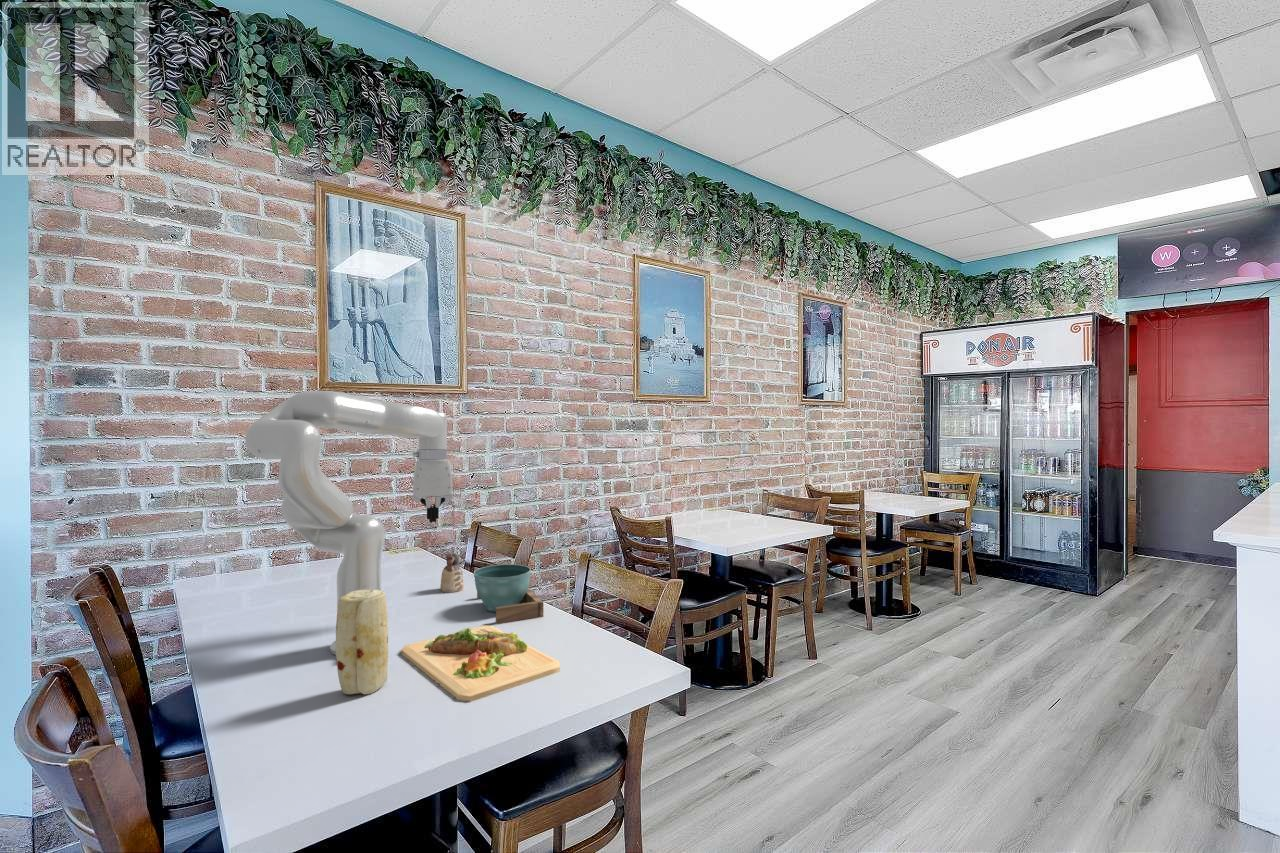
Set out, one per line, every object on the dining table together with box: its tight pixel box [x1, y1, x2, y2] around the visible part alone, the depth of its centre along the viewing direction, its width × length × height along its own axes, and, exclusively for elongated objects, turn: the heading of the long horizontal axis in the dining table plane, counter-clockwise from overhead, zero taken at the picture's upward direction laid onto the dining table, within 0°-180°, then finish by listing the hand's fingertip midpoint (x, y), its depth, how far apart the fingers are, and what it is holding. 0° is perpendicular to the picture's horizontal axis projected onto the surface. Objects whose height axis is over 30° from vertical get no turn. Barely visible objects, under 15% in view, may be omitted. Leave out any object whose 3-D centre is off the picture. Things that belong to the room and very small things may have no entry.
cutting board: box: [400, 625, 561, 702], centre depth 134 cm, size 35×23×8 cm
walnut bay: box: [476, 588, 544, 625], centre depth 172 cm, size 26×13×4 cm, turn 27°
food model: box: [335, 590, 389, 695], centre depth 119 cm, size 10×7×20 cm
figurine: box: [440, 552, 465, 594], centre depth 190 cm, size 7×7×12 cm
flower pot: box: [473, 563, 532, 613], centre depth 172 cm, size 16×16×11 cm
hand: (432, 521), depth 165 cm, fingers closed
